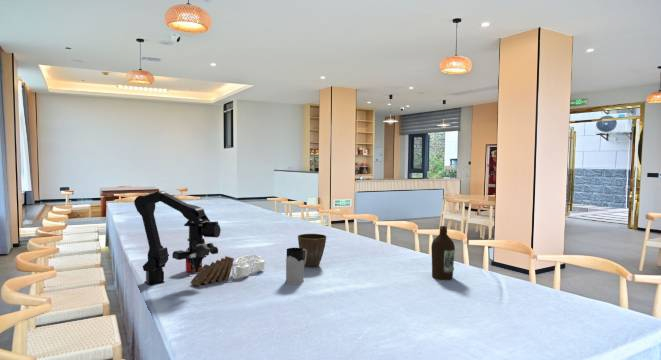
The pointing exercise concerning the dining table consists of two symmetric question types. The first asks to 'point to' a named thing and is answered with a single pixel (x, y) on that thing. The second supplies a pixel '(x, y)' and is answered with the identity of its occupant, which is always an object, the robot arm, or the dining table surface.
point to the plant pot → (312, 248)
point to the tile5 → (228, 268)
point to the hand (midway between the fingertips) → (195, 272)
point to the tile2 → (211, 273)
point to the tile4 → (223, 269)
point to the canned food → (189, 266)
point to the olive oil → (442, 256)
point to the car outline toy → (247, 266)
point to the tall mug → (295, 265)
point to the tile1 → (201, 275)
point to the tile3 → (217, 271)
